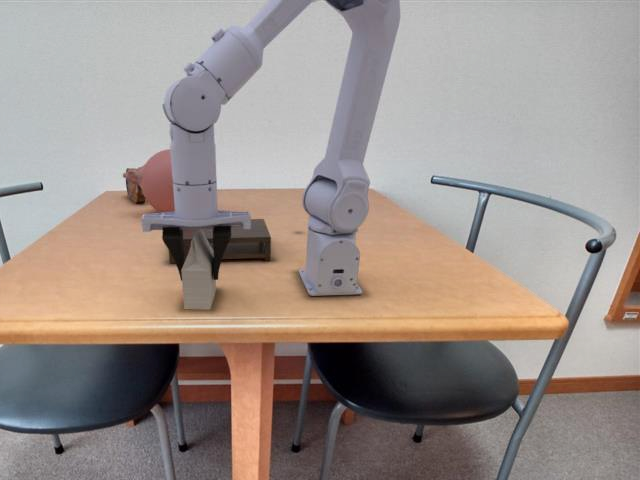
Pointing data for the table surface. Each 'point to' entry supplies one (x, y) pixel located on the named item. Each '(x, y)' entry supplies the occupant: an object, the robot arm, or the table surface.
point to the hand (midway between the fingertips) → (200, 277)
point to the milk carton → (198, 274)
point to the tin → (134, 190)
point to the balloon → (155, 181)
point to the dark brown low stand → (237, 242)
